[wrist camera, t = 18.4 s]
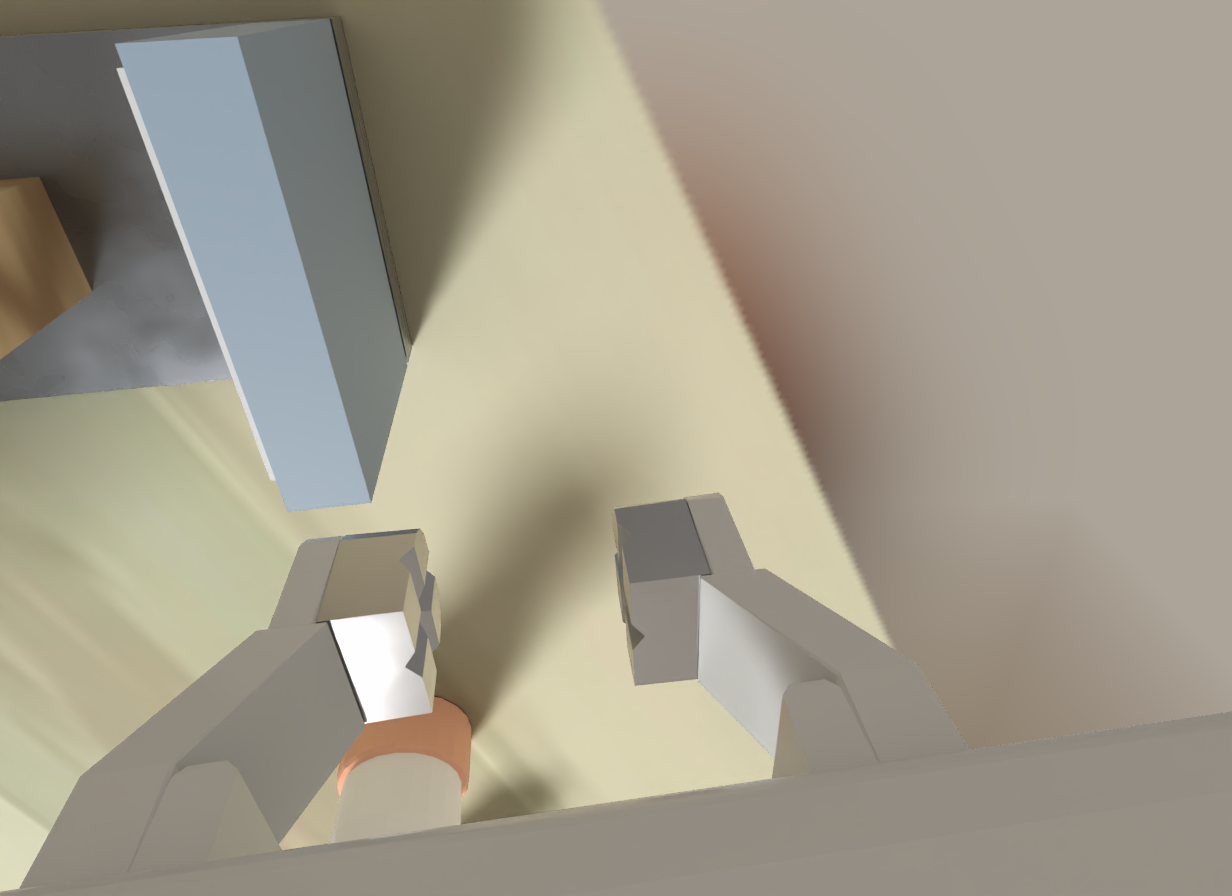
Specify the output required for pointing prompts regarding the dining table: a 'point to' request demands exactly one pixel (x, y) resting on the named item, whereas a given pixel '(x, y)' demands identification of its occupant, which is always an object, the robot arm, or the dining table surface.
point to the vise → (118, 220)
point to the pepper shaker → (404, 775)
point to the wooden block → (33, 263)
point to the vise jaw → (278, 242)
